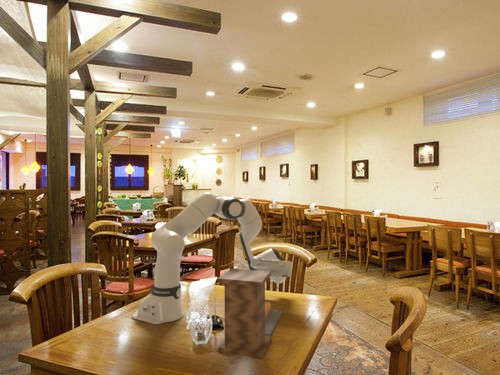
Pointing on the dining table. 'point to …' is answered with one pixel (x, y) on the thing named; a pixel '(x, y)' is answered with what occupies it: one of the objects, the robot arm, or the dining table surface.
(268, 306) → the bar
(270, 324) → the mat
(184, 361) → the dining table surface
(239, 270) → the wooden pillar on base
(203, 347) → the dining table surface
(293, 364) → the dining table surface
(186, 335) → the dining table surface
